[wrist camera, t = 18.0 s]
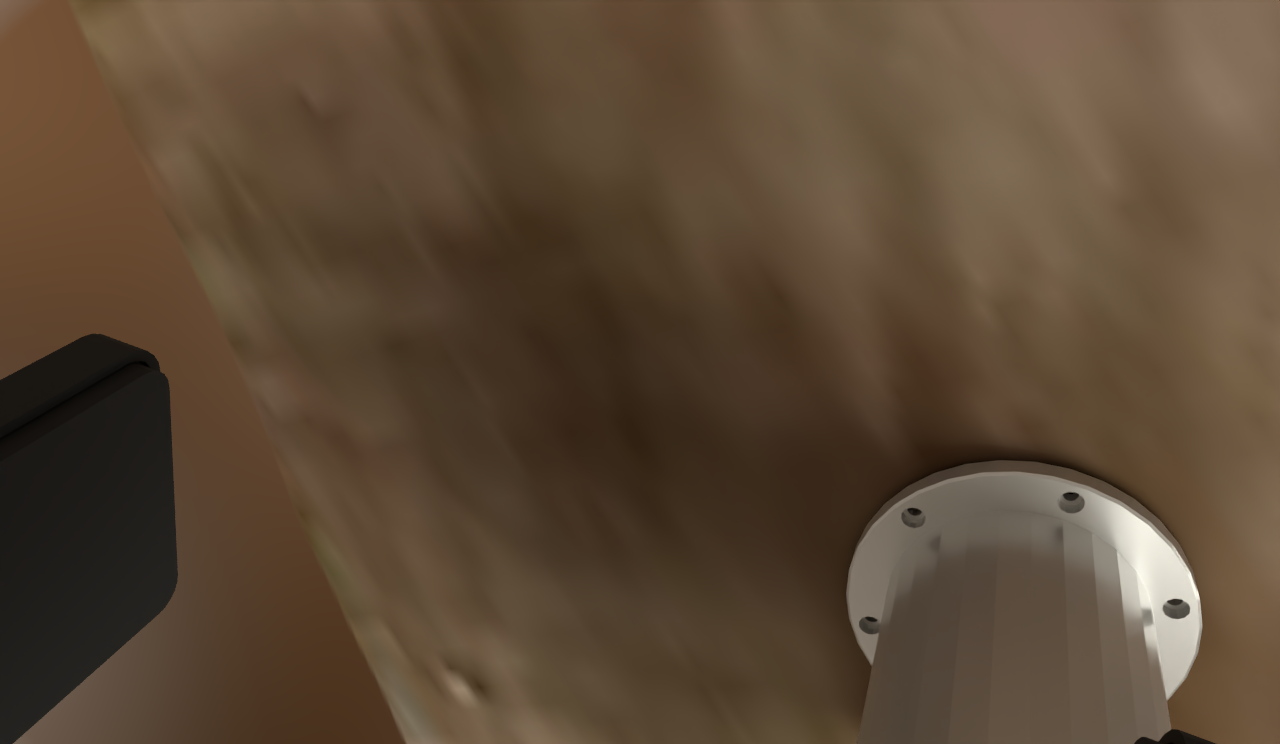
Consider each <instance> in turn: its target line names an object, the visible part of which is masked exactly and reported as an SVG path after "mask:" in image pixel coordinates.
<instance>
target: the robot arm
mask: <svg viewBox="0 0 1280 744" xmlns="http://www.w3.org/2000/svg"><path fill="white" fill-rule="evenodd" d="M170 415H171V414H170V391H169V383H168V379H167V378H166V376H165V374H163V373H161V372H160V367H159V363H158V361H157V359H156V358H155V356H154V355H153V354H151V353H149V352H148V351H146V350H143V349H140V348H138V347H135V346H132V345H129V344H127V343H124V342H121V341H118V340H116V339H113V338H110V337H107V336H105V335H102V334H90V335H87V336H84V337H81V338H79V339H78V340H76V341H74V342H72V343H70V344H68V345H66V346H64V347H62V348H60V349H59V350H57V351H55V352H53V353H51V354H49V355H47V356H45V357H43V358H41V359H40V360H38V361H36V362H34V363H32V364H30V365H28V366H26V367H24V368H22V369H21V370H19V371H17V372H15V373H13V374H11V375H9V376H7V377H5V378H3V379H2V380H0V744H13V743H14V742H15V741H16V740H17V739H18V738H20V737H21V736H22V735H23V734H24V733H25V732H26V731H27V730H29V729H30V728H31V727H32V726H33V725H34V724H35V723H37V722H38V721H39V720H40V719H41V718H42V717H43V716H44V715H45V714H47V713H48V712H49V711H50V710H51V709H52V708H53V707H55V706H56V705H57V704H58V703H59V702H60V701H61V700H62V699H63V698H64V697H66V696H67V695H68V694H69V693H70V692H71V691H73V690H74V689H75V688H76V687H77V686H78V685H79V684H80V683H82V682H83V681H84V680H85V679H86V678H87V677H88V676H89V675H91V674H92V673H93V672H94V671H95V670H96V669H97V668H98V667H100V665H102V664H103V663H104V662H105V661H106V660H107V659H109V658H110V657H111V656H112V655H113V654H114V653H115V652H116V651H118V650H119V649H120V648H121V647H122V646H123V645H124V644H125V643H126V642H127V641H129V640H130V639H131V638H132V637H133V636H134V635H136V634H137V633H138V632H139V631H140V630H141V629H142V628H143V627H144V626H146V625H147V624H148V623H149V622H150V621H151V620H152V619H153V618H155V617H156V616H157V615H158V614H159V613H160V612H161V611H162V610H163V609H164V608H165V607H166V605H167V603H168V602H169V601H170V599H171V597H172V595H173V593H174V591H175V588H176V584H177V576H178V572H177V550H176V528H175V505H174V481H173V461H172V460H173V459H172V436H171V416H170ZM1067 492H1075V494H1067ZM913 508H917V509H918V510H917V509H913ZM846 597H847V606H848V614H849V620H850V623H851V626H852V629H853V631H854V634H855V637H856V640H857V643H858V644H859V646H860V648H861V649H862V651H863V653H864V655H865V656H866V658H867V660H868V661H869V663H870V665H871V666H872V669H871V674H870V680H869V685H868V690H867V695H866V700H865V705H864V710H863V715H862V720H861V725H860V730H859V736H858V741H857V744H1215V743H1213V742H1210V741H1207V740H1204V739H1202V738H1199V737H1196V736H1194V735H1191V734H1188V733H1185V732H1183V731H1180V730H1174V729H1171V725H1170V718H1169V712H1168V705H1167V700H1168V699H1170V697H1171V696H1172V695H1173V694H1174V692H1175V691H1176V690H1177V689H1178V687H1179V686H1180V685H1181V684H1182V682H1183V681H1184V680H1185V679H1186V677H1187V675H1188V673H1189V671H1190V669H1191V667H1192V664H1193V662H1194V660H1195V658H1196V656H1197V654H1198V649H1199V643H1200V638H1201V632H1202V616H1201V605H1200V597H1199V593H1198V589H1197V585H1196V581H1195V577H1194V573H1193V570H1192V568H1191V566H1190V564H1189V562H1188V560H1187V558H1186V556H1185V554H1184V552H1183V550H1182V548H1181V546H1180V544H1179V543H1178V542H1177V541H1176V539H1175V538H1174V537H1173V536H1172V534H1171V533H1170V532H1169V531H1168V530H1167V528H1166V527H1165V526H1164V525H1163V523H1162V522H1161V521H1160V520H1159V519H1158V518H1157V517H1156V516H1154V515H1153V514H1152V513H1151V512H1150V511H1148V510H1147V509H1146V508H1145V507H1144V506H1142V505H1141V504H1140V503H1139V502H1138V501H1137V500H1135V499H1134V498H1132V497H1130V496H1129V495H1127V494H1125V493H1124V492H1122V491H1120V490H1118V489H1117V488H1115V487H1113V486H1111V485H1110V484H1108V483H1106V482H1104V481H1102V480H1099V479H1096V478H1094V477H1091V476H1088V475H1086V474H1083V473H1080V472H1078V471H1075V470H1072V469H1069V468H1064V467H1059V466H1054V465H1049V464H1044V463H1039V462H1031V461H1009V460H996V461H987V462H979V463H970V464H964V465H960V466H957V467H953V468H950V469H946V470H943V471H939V472H936V473H933V474H931V475H929V476H927V477H925V478H923V479H921V480H919V481H917V482H915V483H913V484H911V485H909V486H907V487H906V488H904V489H903V490H902V491H900V492H899V493H898V494H897V495H895V496H894V497H893V498H891V499H890V500H889V501H887V502H886V503H885V504H884V505H883V506H882V507H881V508H880V510H879V511H878V512H877V513H876V514H875V515H874V517H873V518H872V519H871V520H870V521H869V522H868V524H867V525H866V527H865V529H864V531H863V533H862V535H861V537H860V539H859V541H858V543H857V545H856V547H855V551H854V555H853V558H852V561H851V565H850V568H849V574H848V583H847V591H846Z"/></svg>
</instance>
